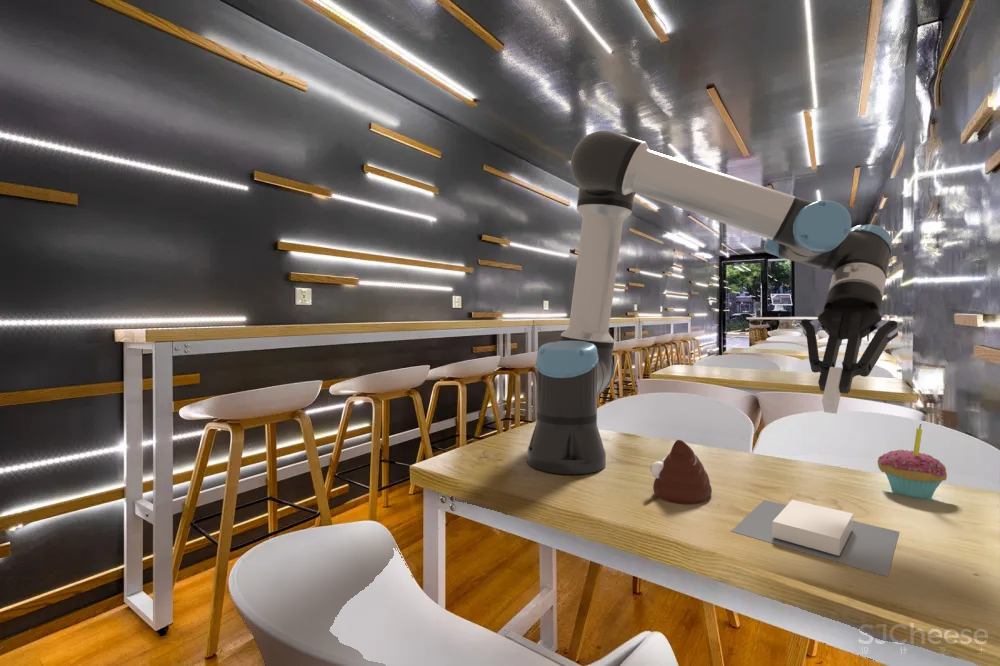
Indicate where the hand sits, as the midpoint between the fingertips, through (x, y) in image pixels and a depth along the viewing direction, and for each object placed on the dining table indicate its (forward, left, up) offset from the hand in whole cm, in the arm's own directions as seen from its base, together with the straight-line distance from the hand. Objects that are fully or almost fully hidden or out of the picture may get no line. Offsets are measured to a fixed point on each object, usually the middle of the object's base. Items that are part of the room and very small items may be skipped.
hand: (829, 407), depth 70 cm
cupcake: (+8, +17, -16) cm, 25 cm away
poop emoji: (-18, -8, -16) cm, 25 cm away
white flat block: (0, -6, -14) cm, 15 cm away
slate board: (0, -10, -15) cm, 18 cm away
